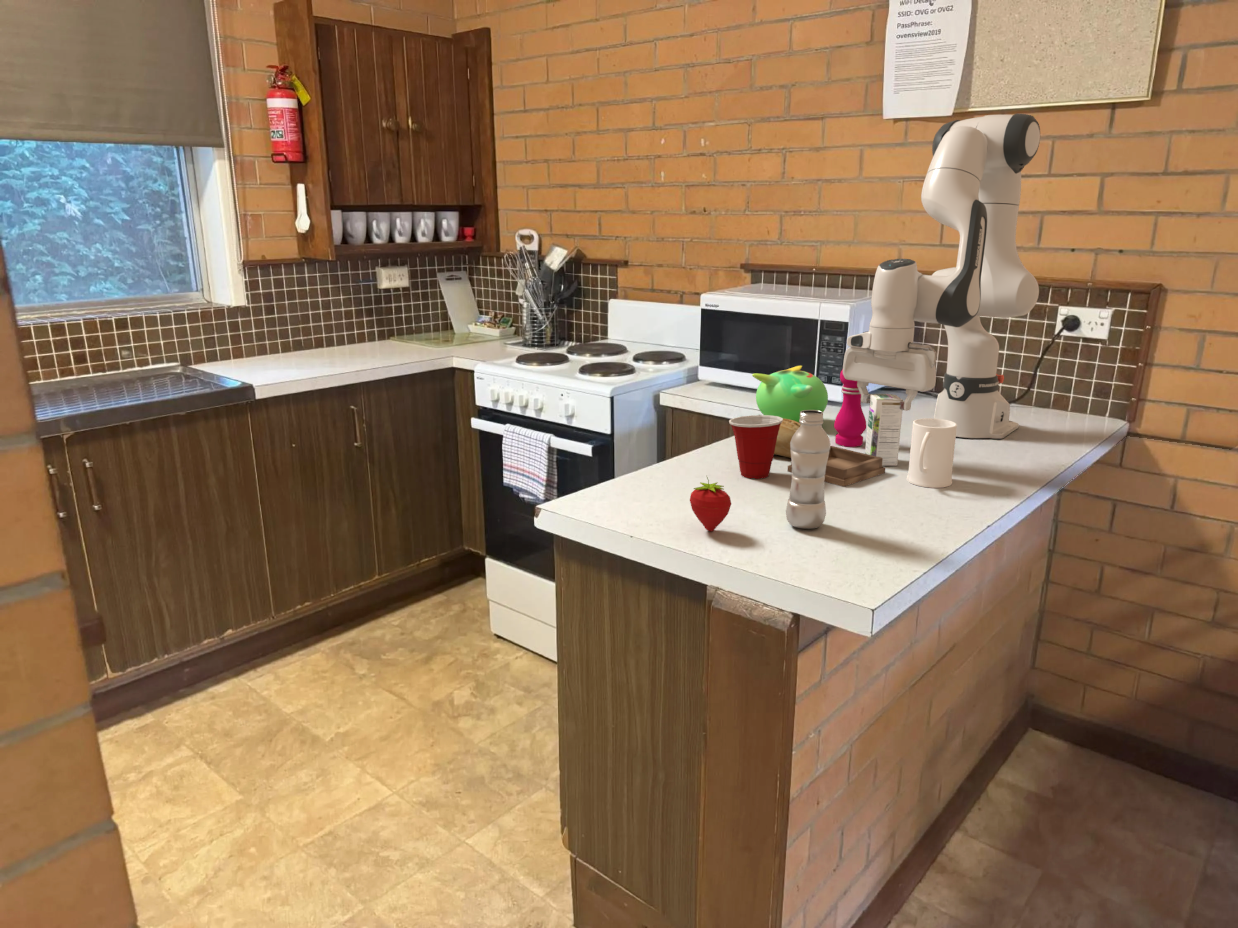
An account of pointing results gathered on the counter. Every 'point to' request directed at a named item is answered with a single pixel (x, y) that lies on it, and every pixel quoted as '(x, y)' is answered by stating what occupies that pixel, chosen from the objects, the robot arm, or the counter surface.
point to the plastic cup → (755, 443)
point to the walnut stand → (850, 466)
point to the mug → (932, 453)
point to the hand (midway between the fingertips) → (885, 406)
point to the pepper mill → (850, 416)
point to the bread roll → (785, 437)
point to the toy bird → (790, 393)
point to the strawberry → (710, 504)
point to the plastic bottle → (808, 472)
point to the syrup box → (884, 428)
